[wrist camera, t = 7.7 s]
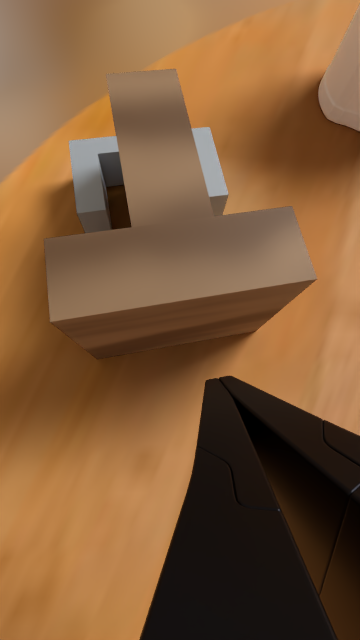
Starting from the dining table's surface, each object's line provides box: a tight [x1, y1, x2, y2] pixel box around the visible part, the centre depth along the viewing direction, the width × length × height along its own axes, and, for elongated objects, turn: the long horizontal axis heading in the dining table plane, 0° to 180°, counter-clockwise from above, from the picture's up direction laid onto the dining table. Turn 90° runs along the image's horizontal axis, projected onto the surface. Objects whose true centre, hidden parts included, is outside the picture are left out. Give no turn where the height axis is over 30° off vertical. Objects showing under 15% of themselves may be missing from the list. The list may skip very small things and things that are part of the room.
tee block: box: [44, 69, 317, 359], centre depth 20 cm, size 14×12×10 cm
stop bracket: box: [69, 127, 229, 233], centre depth 24 cm, size 6×11×4 cm, turn 101°
